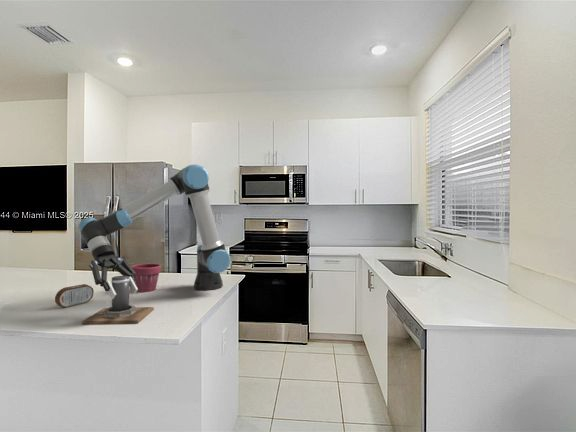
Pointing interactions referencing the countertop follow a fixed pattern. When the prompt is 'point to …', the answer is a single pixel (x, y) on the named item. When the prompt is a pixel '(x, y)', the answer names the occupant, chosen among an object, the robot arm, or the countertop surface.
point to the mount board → (118, 320)
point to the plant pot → (146, 276)
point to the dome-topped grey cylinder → (120, 293)
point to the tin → (74, 295)
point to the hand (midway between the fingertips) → (125, 294)
